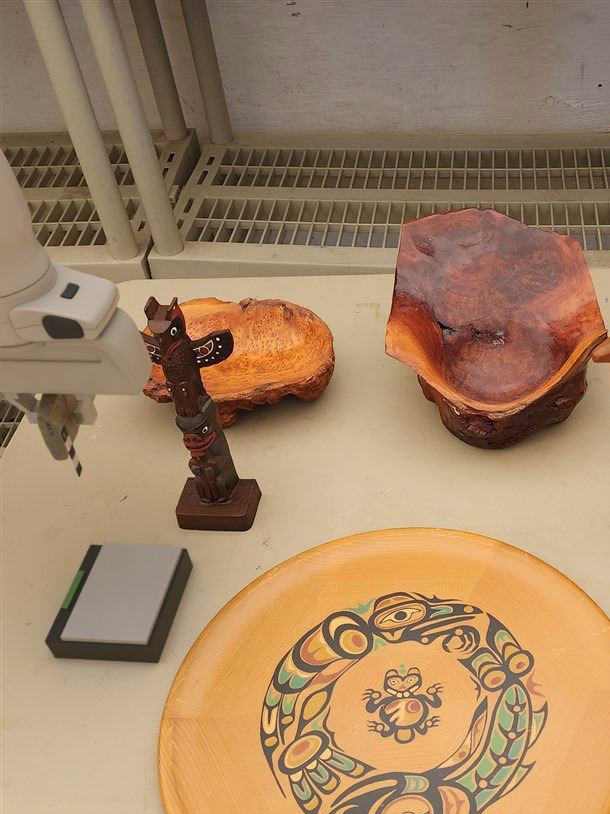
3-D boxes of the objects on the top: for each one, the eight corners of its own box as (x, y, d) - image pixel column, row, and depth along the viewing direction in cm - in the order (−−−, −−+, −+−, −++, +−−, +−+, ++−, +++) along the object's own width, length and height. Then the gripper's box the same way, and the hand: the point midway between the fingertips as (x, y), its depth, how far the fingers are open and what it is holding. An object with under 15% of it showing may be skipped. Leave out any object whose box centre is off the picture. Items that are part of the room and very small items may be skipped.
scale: (54, 657, 90) (41, 638, 87) (98, 561, 98) (88, 540, 96) (158, 663, 89) (148, 643, 86) (193, 565, 98) (185, 544, 95)
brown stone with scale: (61, 432, 79) (90, 353, 87) (18, 433, 79) (51, 354, 87) (80, 477, 83) (106, 398, 91) (39, 479, 83) (69, 399, 91)
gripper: (-124, 320, 74) (-51, 439, 84) (110, 324, 73) (155, 444, 83) (-88, 279, 78) (-23, 397, 88) (133, 283, 77) (173, 401, 87)
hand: (65, 420), depth 86 cm, fingers closed on brown stone with scale, 3 cm apart
